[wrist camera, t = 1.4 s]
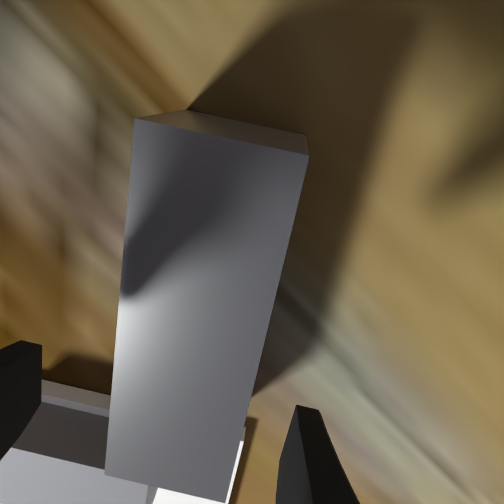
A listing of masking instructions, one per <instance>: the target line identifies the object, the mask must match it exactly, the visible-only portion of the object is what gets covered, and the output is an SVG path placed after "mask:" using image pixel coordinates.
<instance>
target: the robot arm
mask: <svg viewBox="0 0 504 504" xmlns="http://www.w3.org/2000/svg"><path fill="white" fill-rule="evenodd" d="M41 393H42V345H39V344H35V343H31V342H26V341H22V340H20V341H18V342H16V343H13V344H11V345H9V346H7V347H4V348H2V349H0V461H1V459H2V458H3V457H4V456H5V454H6V453H7V452H8V451H9V449H10V448H11V447H12V446H13V445H14V443H15V442H16V441H17V440H18V438H19V437H20V436H21V434H22V433H23V431H24V430H25V428H26V426H27V425H28V423H29V422H30V420H31V419H32V417H33V415H34V414H35V412H36V411H37V409H38V407H39V406H40V404H41ZM276 504H360V503H359V501H358V499H357V497H356V495H355V493H354V491H353V489H352V487H351V485H350V483H349V480H348V478H347V476H346V474H345V472H344V470H343V468H342V465H341V463H340V461H339V459H338V456H337V454H336V452H335V449H334V447H333V445H332V442H331V440H330V437H329V435H328V432H327V429H326V427H325V424H324V421H323V419H322V416H321V413H320V412H319V410H317V409H312V408H308V407H304V406H300V405H296V407H295V411H294V414H293V417H292V420H291V424H290V427H289V430H288V434H287V437H286V440H285V444H284V447H283V450H282V453H281V457H280V461H279V471H278V480H277V491H276Z"/></svg>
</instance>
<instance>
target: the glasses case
mask: <svg viewBox="0 0 504 504" xmlns="http://www.w3.org/2000/svg"><path fill="white" fill-rule="evenodd" d="M309 157H310V154H309V149H308V143H307V138H306V135H303V134H298V133H294V132H289V131H284V130H280V129H275V128H270V127H265V126H261V125H256V124H251V123H247V122H242V121H237V120H233V119H228V118H223V117H218V116H214V115H209V114H204V113H200V112H195V111H190V110H181V111H175V112H169V113H163V114H157V115H151V116H145V117H140V118H135V121H134V132H133V144H132V156H131V168H130V179H129V191H128V203H127V214H126V226H125V238H124V250H123V261H122V273H121V285H120V297H119V308H118V320H117V332H116V343H115V355H114V367H113V379H112V390H111V402H110V414H109V425H108V437H107V449H106V461H105V472H104V475H107V476H111V477H115V478H119V479H124V480H128V481H132V482H136V483H141V484H145V485H149V486H153V487H158V488H162V489H166V490H170V491H175V492H179V493H183V494H187V495H192V496H196V497H200V498H204V499H209V500H213V501H217V502H221V503H225V502H226V498H227V494H228V490H229V486H230V482H231V477H232V473H233V469H234V465H235V461H236V457H237V453H238V449H239V445H240V440H241V436H242V432H243V428H244V424H245V420H246V416H247V412H248V408H249V403H250V399H251V395H252V391H253V387H254V383H255V379H256V375H257V371H258V367H259V362H260V358H261V354H262V350H263V346H264V342H265V338H266V334H267V330H268V325H269V321H270V317H271V313H272V309H273V305H274V301H275V297H276V293H277V289H278V284H279V280H280V276H281V272H282V268H283V264H284V260H285V256H286V252H287V247H288V243H289V239H290V235H291V231H292V227H293V223H294V219H295V215H296V210H297V206H298V202H299V198H300V194H301V190H302V186H303V182H304V178H305V174H306V169H307V165H308V161H309Z"/></svg>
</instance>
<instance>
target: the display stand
mask: <svg viewBox="0 0 504 504" xmlns="http://www.w3.org/2000/svg"><path fill="white" fill-rule="evenodd" d="M110 402H111V396H110V395H106V394H102V393H97V392H93V391H89V390H85V389H80V388H76V387H72V386H68V385H63V384H59V383H55V382H51V381H46V380H42V393H41V404H40V406H39V407H38V409H37V411H36V412H35V414H34V415H33V417H32V419H31V420H30V422H29V423H28V425H27V426H26V428H25V430H24V431H23V433H22V434H21V436H20V437H19V438H18V440H17V441H16V442H15V443H14V445H13V446H12V447H11V448H10V449H9V451H8V452H7V453H6V454H5V456H4V457H3V458H2V459H1V461H0V504H228V502H229V498H230V494H231V490H232V486H233V482H234V479H235V475H236V471H237V467H238V463H239V459H240V455H241V451H242V447H243V443H244V437H245V431H246V427H244V428H243V432H242V436H241V440H240V445H239V449H238V453H237V457H236V461H235V465H234V469H233V473H232V477H231V482H230V486H229V490H228V494H227V498H226V502H225V503H221V502H217V501H213V500H209V499H204V498H200V497H196V496H192V495H187V494H183V493H179V492H175V491H170V490H166V489H162V488H158V487H153V486H149V485H145V484H141V483H136V482H132V481H128V480H124V479H119V478H115V477H111V476H107V475H104V472H105V461H106V449H107V437H108V425H109V414H110Z"/></svg>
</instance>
